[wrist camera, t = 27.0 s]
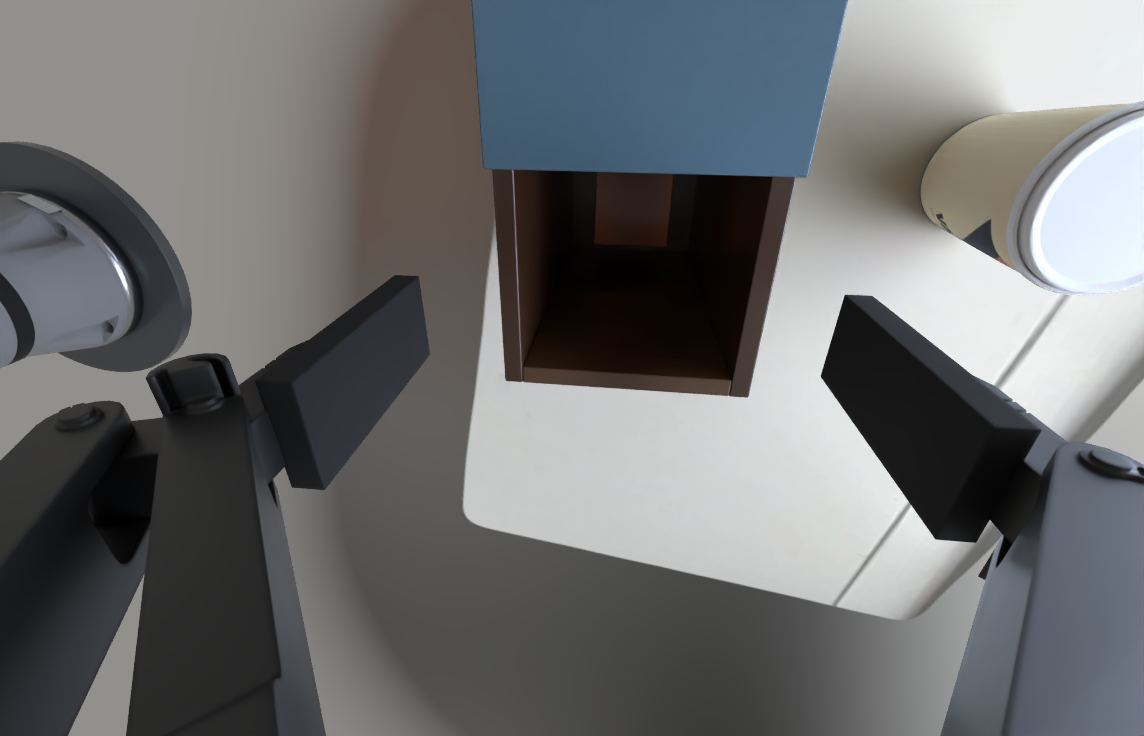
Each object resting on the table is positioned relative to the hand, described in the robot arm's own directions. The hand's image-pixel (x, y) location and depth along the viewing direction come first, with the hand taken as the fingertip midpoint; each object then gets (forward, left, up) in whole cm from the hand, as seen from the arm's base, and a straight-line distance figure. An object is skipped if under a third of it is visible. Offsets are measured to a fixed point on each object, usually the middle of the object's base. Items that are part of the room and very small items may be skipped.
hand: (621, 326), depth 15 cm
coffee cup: (+24, +2, -25) cm, 35 cm away
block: (0, 0, -24) cm, 24 cm away
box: (0, +3, -25) cm, 25 cm away
